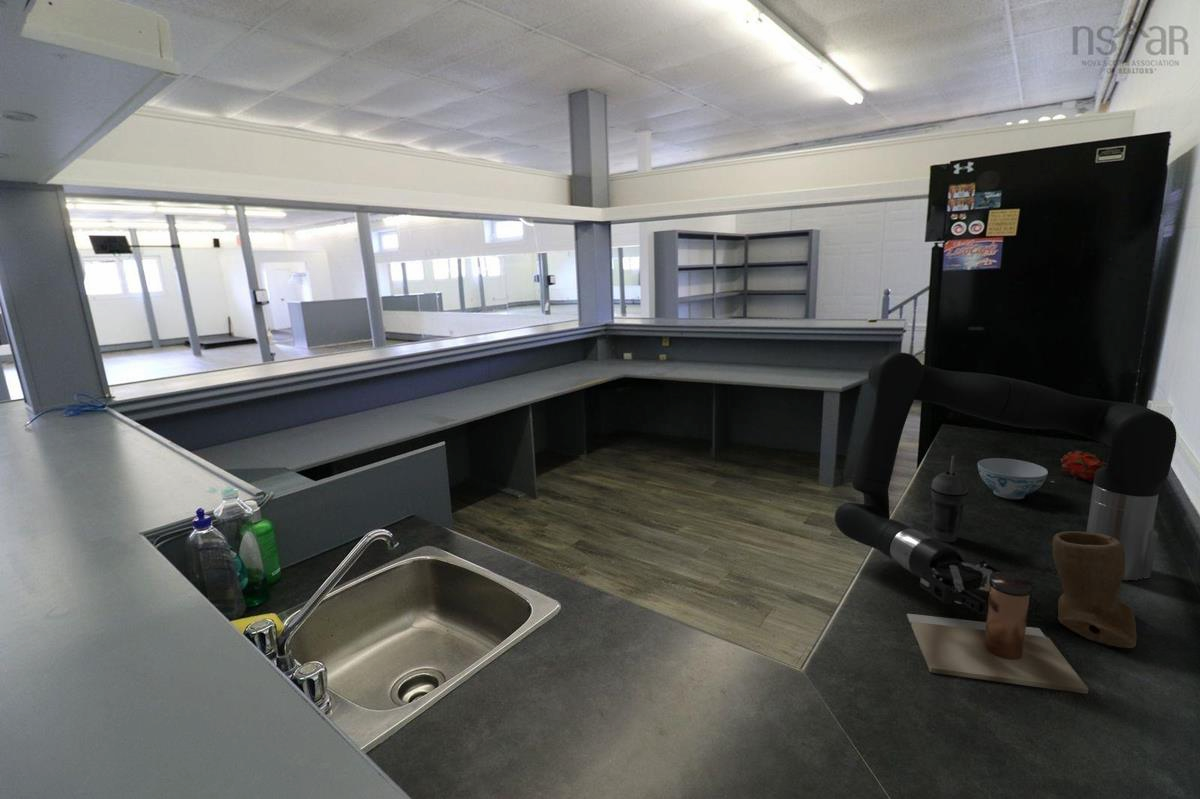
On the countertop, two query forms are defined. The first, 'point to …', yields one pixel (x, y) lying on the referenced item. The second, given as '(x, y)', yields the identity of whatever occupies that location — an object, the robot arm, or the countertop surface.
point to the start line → (962, 623)
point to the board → (995, 658)
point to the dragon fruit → (1082, 464)
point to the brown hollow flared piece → (1093, 588)
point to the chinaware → (1011, 477)
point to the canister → (1007, 614)
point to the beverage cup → (948, 504)
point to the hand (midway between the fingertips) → (1008, 604)
